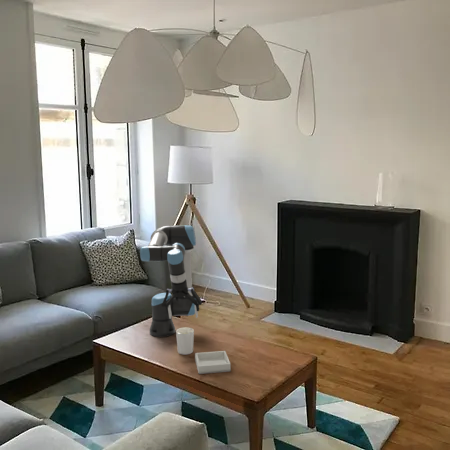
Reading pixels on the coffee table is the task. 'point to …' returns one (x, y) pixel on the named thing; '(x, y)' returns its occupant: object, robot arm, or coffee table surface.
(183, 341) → the candle holder
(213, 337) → the coffee table surface
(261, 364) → the coffee table surface
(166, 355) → the coffee table surface
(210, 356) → the lipped tray
